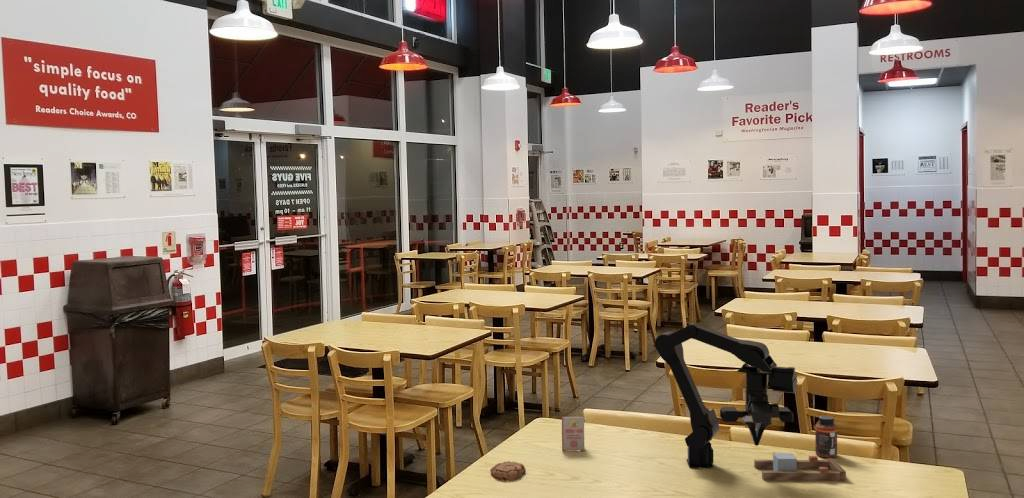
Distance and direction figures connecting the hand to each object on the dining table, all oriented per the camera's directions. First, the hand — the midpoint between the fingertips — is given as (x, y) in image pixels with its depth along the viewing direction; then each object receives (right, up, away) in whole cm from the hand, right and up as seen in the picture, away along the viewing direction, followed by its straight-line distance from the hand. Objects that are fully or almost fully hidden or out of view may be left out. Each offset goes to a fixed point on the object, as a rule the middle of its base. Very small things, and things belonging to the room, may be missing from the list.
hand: (756, 445), depth 219 cm
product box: (-48, -8, +25) cm, 55 cm away
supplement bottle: (+25, -7, +14) cm, 30 cm away
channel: (+11, -8, -1) cm, 13 cm away
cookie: (-68, -10, +4) cm, 69 cm away
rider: (+8, -8, 0) cm, 11 cm away
